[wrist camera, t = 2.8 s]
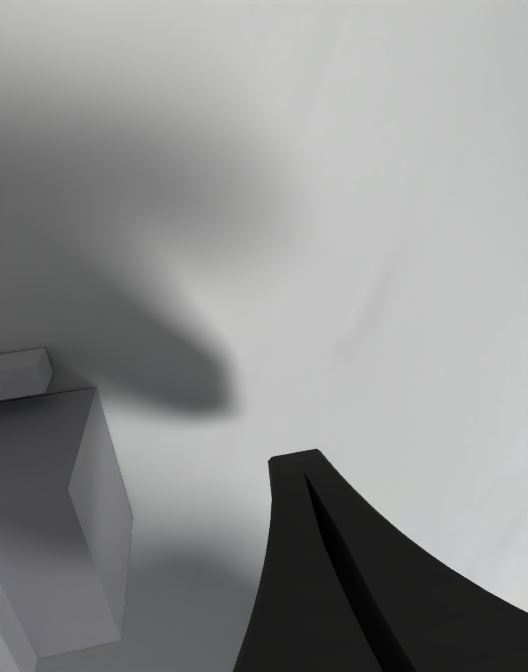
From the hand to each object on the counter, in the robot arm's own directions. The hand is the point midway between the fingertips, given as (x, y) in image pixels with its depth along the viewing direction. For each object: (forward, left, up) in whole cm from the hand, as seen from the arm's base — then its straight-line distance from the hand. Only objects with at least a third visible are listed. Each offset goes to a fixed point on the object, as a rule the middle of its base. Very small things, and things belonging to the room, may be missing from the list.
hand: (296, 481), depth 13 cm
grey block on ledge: (+7, 0, -3) cm, 8 cm away
